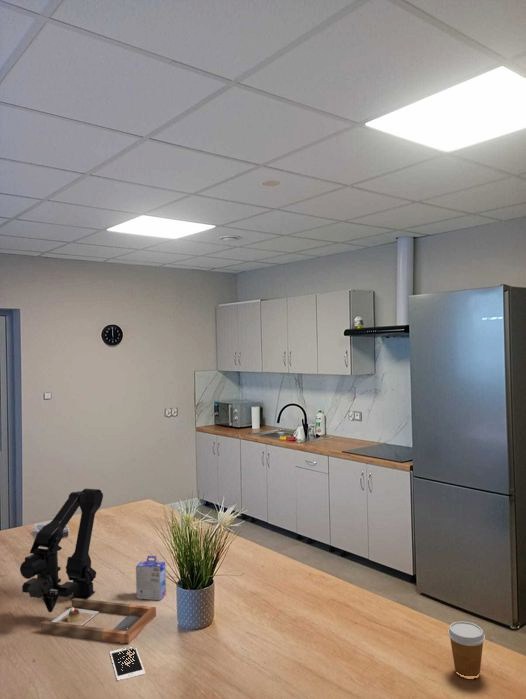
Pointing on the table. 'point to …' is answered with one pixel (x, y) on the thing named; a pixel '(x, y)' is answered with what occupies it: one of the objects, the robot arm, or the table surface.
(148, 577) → the ink cartridge box
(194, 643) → the table surface
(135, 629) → the walled channel
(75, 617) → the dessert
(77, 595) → the robot arm
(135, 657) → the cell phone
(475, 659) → the disposable coffee cup
